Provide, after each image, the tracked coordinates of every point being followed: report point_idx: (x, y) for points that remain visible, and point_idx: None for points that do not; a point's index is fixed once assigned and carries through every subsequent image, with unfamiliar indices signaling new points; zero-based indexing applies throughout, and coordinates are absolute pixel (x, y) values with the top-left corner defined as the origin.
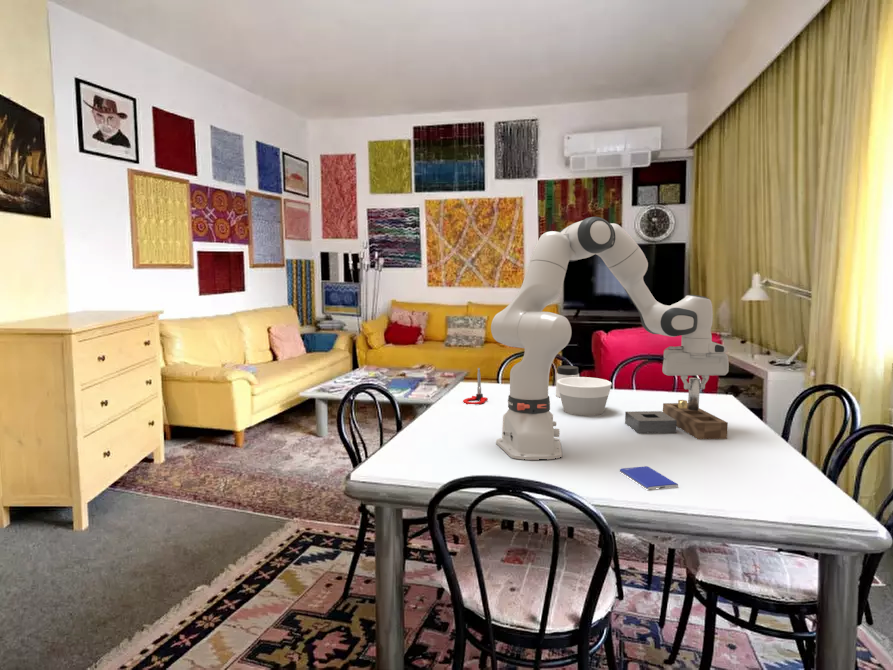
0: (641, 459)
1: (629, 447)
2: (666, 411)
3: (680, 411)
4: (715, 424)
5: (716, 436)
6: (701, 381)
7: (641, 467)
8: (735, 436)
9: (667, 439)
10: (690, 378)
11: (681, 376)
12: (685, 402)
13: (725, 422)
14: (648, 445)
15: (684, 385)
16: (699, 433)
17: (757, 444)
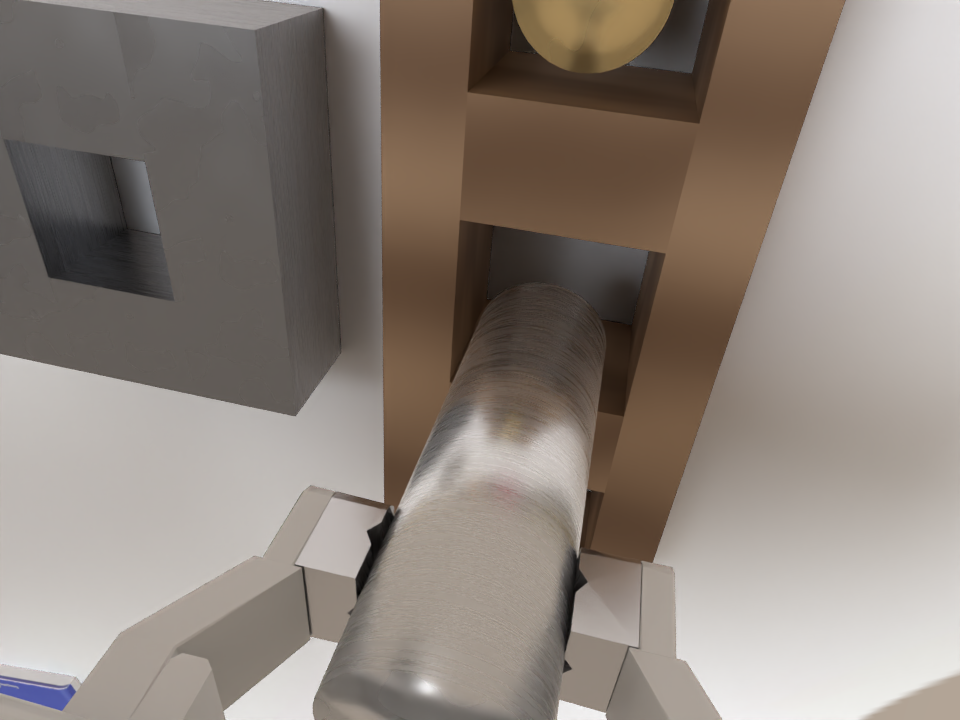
0: (59, 611)
1: (12, 495)
2: None
3: (416, 253)
4: None
5: None
6: (644, 688)
7: (41, 690)
8: (743, 523)
9: (233, 449)
10: (345, 701)
11: (103, 693)
12: (600, 69)
13: None
14: (106, 498)
15: (286, 539)
16: None
17: (734, 656)
